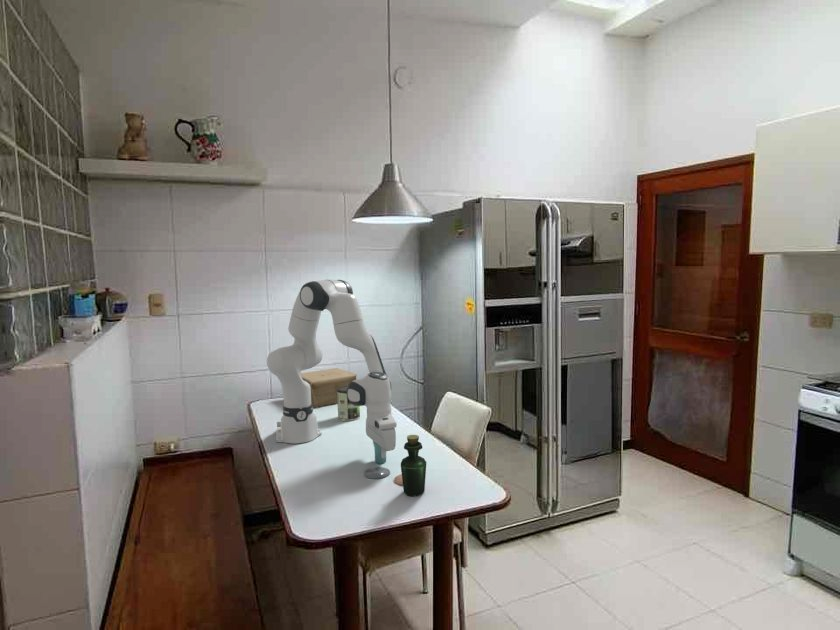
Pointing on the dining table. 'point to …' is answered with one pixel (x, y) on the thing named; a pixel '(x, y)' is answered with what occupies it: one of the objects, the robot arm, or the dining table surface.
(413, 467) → the potion bottle
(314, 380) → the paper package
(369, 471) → the grey flat disc
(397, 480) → the tan round disc
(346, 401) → the coffee can
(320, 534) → the dining table surface
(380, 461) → the marker peg
